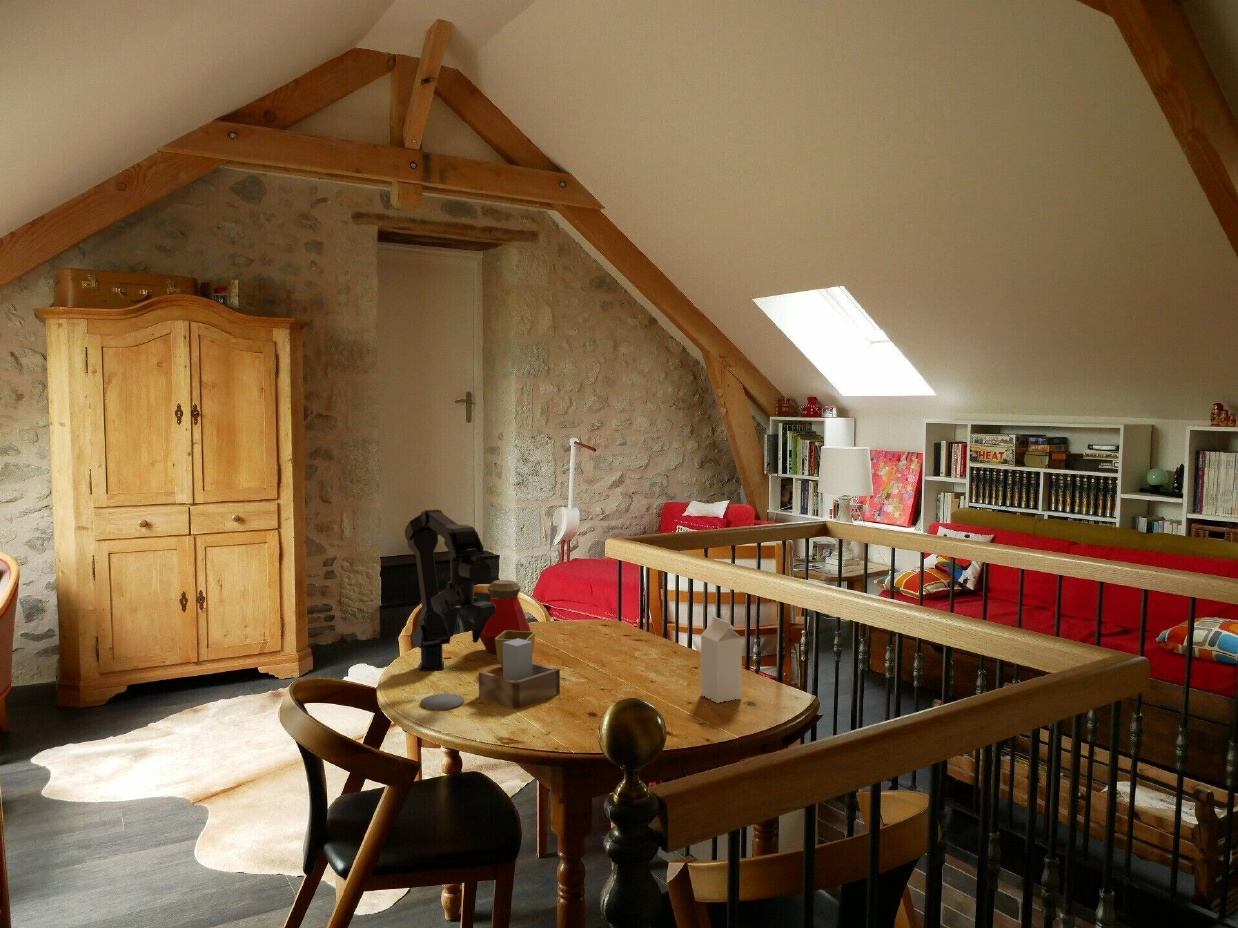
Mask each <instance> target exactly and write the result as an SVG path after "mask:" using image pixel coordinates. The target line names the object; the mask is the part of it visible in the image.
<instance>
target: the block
mask: <svg viewBox="0 0 1238 928" xmlns="http://www.w3.org/2000/svg"><path fill="white" fill-rule="evenodd" d="M532 662H533V653H532V642H531V641H527V640H523V639H519V638H518V639H514V640H510V641H506V642H503V668H502V677H504V678H507V679H510V680H514V681H518V680H521V679H525V678H528V677H531V676H532Z"/></svg>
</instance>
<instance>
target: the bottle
mask: <svg viewBox="0 0 1238 928" xmlns="http://www.w3.org/2000/svg"><path fill="white" fill-rule="evenodd" d="M521 587H522V586H521V585H520V584H518V583H517V582H516V581H515V580H512V579H498V580H494V581H492V582H491V583H490V584H489V585H488V586H487V588H486V589H487V591H488V593H489V596H490V598H489V601H488V602H491V603H494V605H495V606H496V614H494V615H492V617H490V618H489V620H488V621H487V623H486V625H485V627H484V629H483V631H482V633H481V635H480V638H479V640H481V642H482V644H483V646H484V648H485V650H486V651H487V653H489V654H491V655H496V656H497V652H496V645H495V638H496V637H498V636H499V635H500V634H501V633H503V632H504V631H526V632H531V627H530V625H529V622H528V619H527V616H526V614H525V612H524V610H523V607H522V605H521V602H520V599H519V597H518V596H519V593H520V591H521Z"/></svg>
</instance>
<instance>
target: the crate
mask: <svg viewBox="0 0 1238 928" xmlns="http://www.w3.org/2000/svg"><path fill="white" fill-rule="evenodd" d="M560 672H561V669H559V668H554V667H552V666H549V665H545V664H541V663H537V662H535V661H532V676H531V677H528V678H525V679H521V680H518V681H514V680H510V679H507V678H504V677H503V676H500V675H497V674H495V673H494V674H493V673H490V672H488V671H484V670H481V671H478V697H480V698H483V699H486V700H488V701H491V702H494V703H497V704H501V705H503V706H506V707H510V708H512V709H515V710H516V709H519V708H522V707H525V706H528V705H531V704H533V703H534V704H535V703H536V702H539V701H543V700H546V699H548V698H551V697H555V696H557V695H560V693H561V688H560V687H561V681H560V680H561V677H560V676H561V673H560Z"/></svg>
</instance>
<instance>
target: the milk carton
mask: <svg viewBox="0 0 1238 928" xmlns="http://www.w3.org/2000/svg"><path fill="white" fill-rule="evenodd" d="M734 629H735V627H734V626H733V625H731V622H729V621H727V620H724V619H721V618H718V617H716V616H712V622H711V623H710V624H709V625H708V626H707V627H706V629H705V630H704V631H703V632H702V633H701V634H700V637H701V638H700V695H701V696H702V697H704V696H705V698H706V699H707V700H710V699H711V700H710V701H712V702H713V701H714V703H715V702H716V704H720V702H721V703H725V702H724V701H726V702H730V701H731V700H732V701H737V700H741V699H742V675H743V673H742V670H743V668H742V667H743V664H742V662H743V661H742V660H743V638H742V636H741V635H740V634H738V633H737V632H736V631H735V630H734ZM735 699H736V700H735ZM732 701H731V702H732Z"/></svg>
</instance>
